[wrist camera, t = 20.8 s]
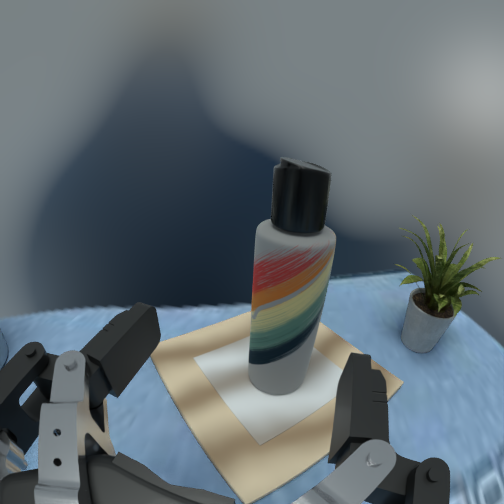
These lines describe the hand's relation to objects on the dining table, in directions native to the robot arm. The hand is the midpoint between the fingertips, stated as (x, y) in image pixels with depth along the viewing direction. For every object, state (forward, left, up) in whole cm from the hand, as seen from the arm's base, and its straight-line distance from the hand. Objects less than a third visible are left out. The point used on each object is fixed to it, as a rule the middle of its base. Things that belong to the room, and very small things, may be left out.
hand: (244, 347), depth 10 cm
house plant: (-1, +27, -15) cm, 32 cm away
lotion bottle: (-7, +9, -14) cm, 18 cm away
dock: (-7, +8, -15) cm, 19 cm away
